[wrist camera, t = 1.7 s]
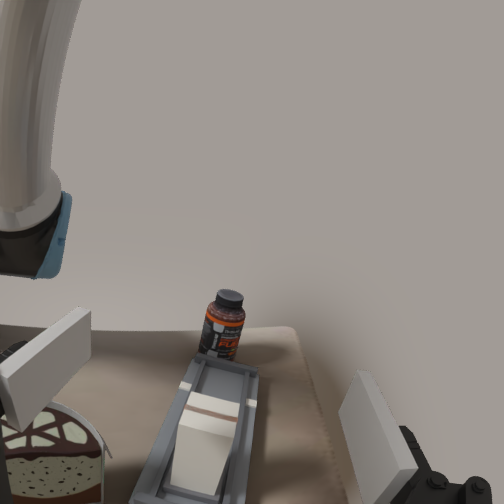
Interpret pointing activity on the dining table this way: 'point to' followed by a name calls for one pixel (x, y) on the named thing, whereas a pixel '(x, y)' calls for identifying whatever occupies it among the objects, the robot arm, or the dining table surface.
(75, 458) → the food container
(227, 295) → the supplement bottle
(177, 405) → the board
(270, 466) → the dining table surface
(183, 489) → the fader tab
